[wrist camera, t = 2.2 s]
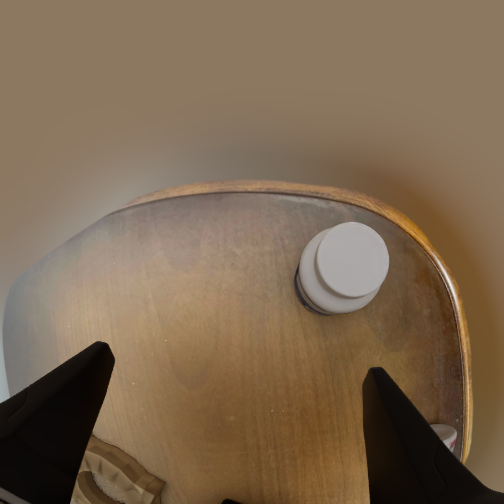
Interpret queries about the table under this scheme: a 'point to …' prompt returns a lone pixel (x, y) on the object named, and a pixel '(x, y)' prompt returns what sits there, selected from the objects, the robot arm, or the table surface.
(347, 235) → the pill bottle
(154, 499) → the socket plate
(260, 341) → the table surface
